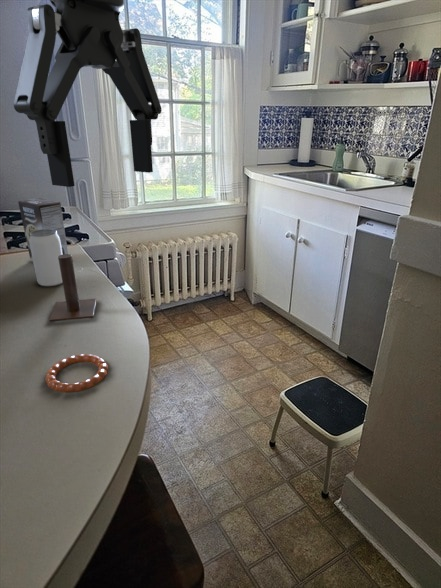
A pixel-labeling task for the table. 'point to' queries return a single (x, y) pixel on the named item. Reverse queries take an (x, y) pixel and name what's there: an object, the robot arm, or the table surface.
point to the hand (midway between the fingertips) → (107, 178)
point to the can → (46, 256)
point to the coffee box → (42, 219)
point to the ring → (79, 386)
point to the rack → (71, 295)
